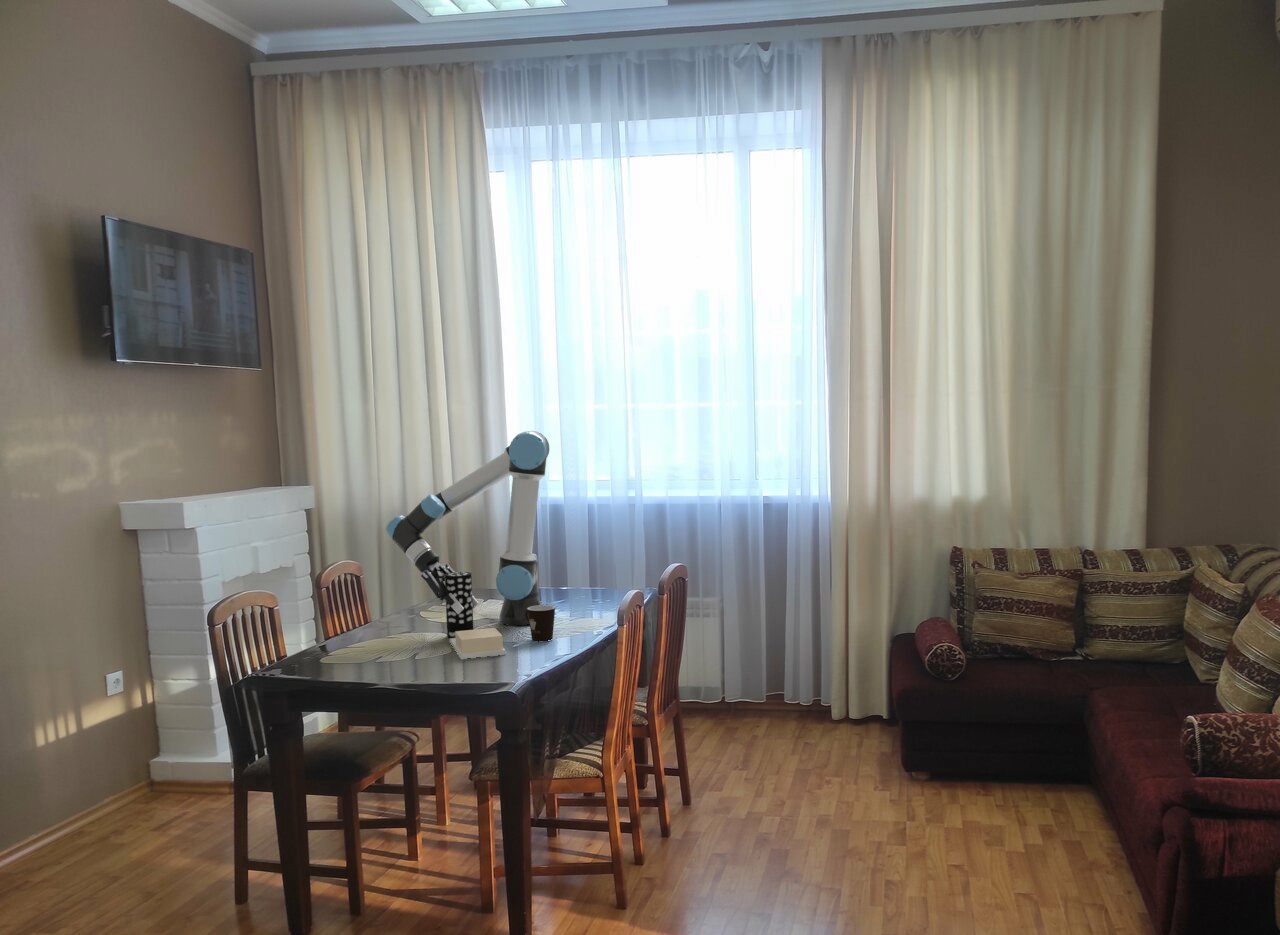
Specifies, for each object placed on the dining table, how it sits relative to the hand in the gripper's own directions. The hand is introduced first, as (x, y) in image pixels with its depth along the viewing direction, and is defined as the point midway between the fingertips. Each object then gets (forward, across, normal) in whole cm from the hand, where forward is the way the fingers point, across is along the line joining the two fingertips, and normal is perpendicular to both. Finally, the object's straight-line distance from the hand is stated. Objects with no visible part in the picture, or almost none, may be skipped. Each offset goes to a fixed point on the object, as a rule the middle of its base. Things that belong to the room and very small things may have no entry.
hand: (468, 608), depth 320 cm
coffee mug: (+23, -4, +10) cm, 25 cm away
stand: (+14, +13, +1) cm, 19 cm away
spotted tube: (+4, 0, -9) cm, 10 cm away
